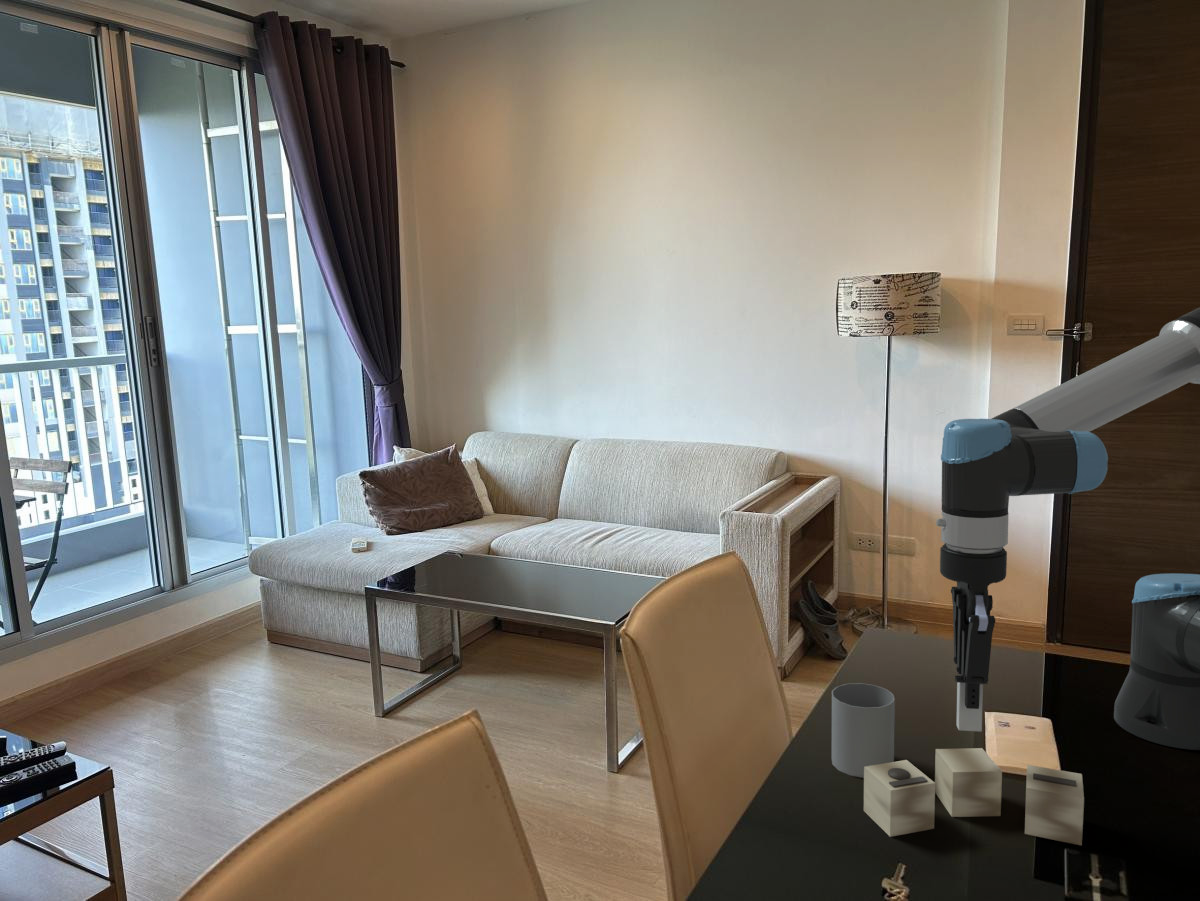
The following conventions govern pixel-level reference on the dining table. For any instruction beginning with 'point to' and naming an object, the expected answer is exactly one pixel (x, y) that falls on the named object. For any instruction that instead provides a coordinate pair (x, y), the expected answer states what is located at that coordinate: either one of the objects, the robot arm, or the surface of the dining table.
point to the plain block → (968, 782)
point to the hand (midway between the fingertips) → (968, 728)
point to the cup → (862, 727)
